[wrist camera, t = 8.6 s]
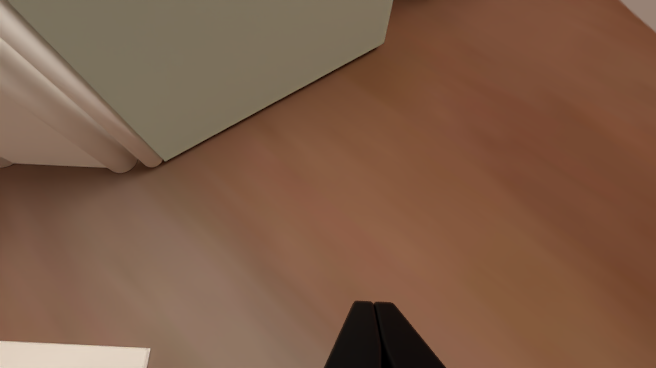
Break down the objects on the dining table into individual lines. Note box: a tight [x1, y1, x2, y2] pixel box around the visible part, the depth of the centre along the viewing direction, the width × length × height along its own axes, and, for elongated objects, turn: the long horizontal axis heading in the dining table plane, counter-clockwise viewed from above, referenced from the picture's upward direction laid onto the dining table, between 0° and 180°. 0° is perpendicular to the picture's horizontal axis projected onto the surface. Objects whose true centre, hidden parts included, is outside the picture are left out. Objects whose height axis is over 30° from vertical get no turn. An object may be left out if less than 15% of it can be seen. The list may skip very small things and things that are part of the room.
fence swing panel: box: [0, 0, 393, 167], centre depth 18 cm, size 17×1×12 cm, turn 124°
